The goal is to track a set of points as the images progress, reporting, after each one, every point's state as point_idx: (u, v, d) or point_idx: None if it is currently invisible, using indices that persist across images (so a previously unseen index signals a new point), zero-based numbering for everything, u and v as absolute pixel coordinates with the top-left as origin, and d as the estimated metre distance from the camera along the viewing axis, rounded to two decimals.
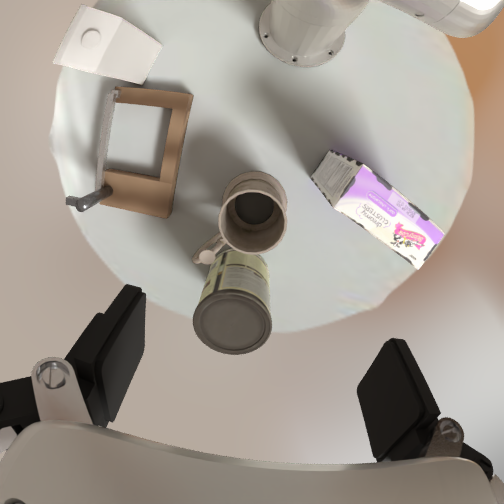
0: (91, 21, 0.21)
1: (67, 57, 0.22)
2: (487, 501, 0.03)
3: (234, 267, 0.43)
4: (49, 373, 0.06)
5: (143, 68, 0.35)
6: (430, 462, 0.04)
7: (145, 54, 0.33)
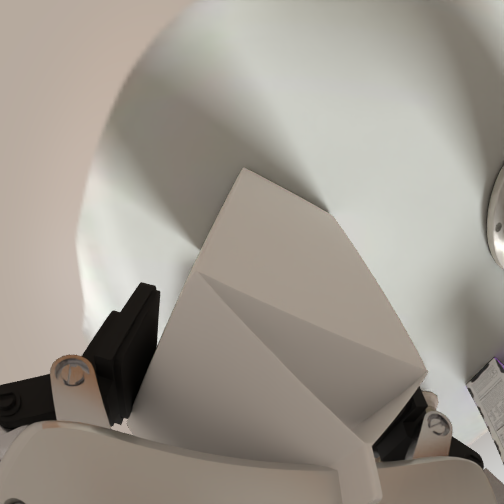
0: None
1: None
2: (487, 501, 0.03)
3: None
4: (68, 370, 0.06)
5: None
6: (430, 462, 0.04)
7: None
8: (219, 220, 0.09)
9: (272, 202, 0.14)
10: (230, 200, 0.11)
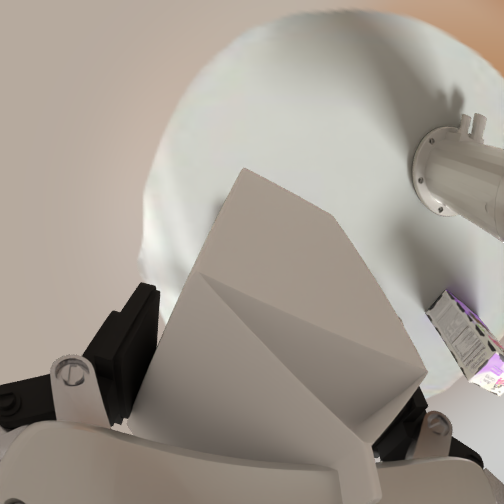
0: None
1: None
2: (487, 501, 0.03)
3: None
4: (69, 370, 0.06)
5: None
6: (430, 462, 0.04)
7: None
8: (219, 220, 0.09)
9: (272, 202, 0.14)
10: (230, 200, 0.11)
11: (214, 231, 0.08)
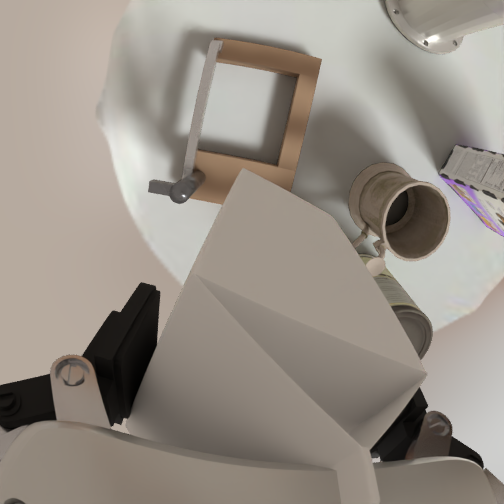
0: None
1: None
2: (487, 501, 0.03)
3: (377, 277, 0.33)
4: (68, 370, 0.06)
5: None
6: (430, 462, 0.04)
7: None
8: (217, 221, 0.09)
9: (271, 203, 0.14)
10: (229, 201, 0.11)
11: (212, 233, 0.08)
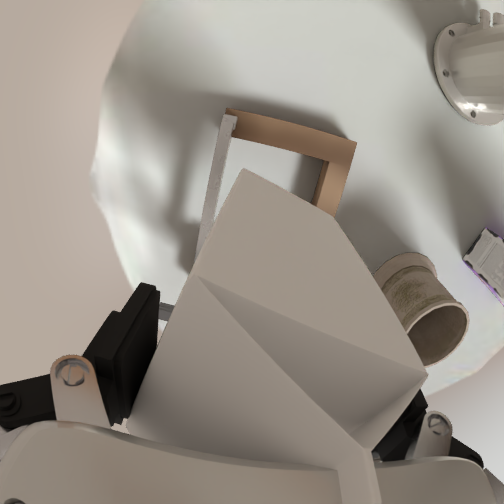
0: None
1: None
2: (487, 501, 0.03)
3: None
4: (69, 370, 0.06)
5: None
6: (430, 462, 0.04)
7: None
8: (218, 222, 0.09)
9: (272, 203, 0.14)
10: (229, 201, 0.11)
11: (213, 233, 0.08)
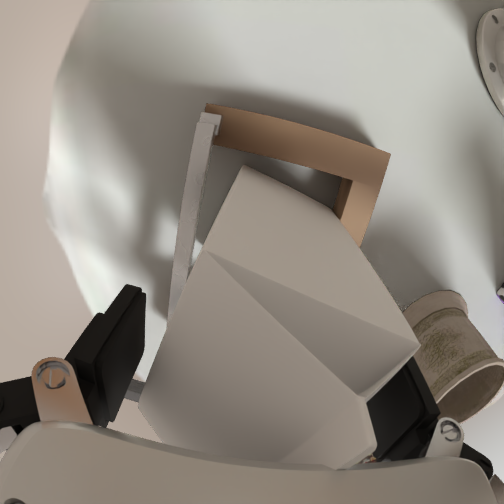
0: None
1: None
2: (487, 501, 0.03)
3: None
4: (49, 373, 0.06)
5: None
6: (430, 462, 0.04)
7: None
8: (222, 209, 0.10)
9: (271, 195, 0.15)
10: (232, 193, 0.12)
11: (218, 218, 0.09)
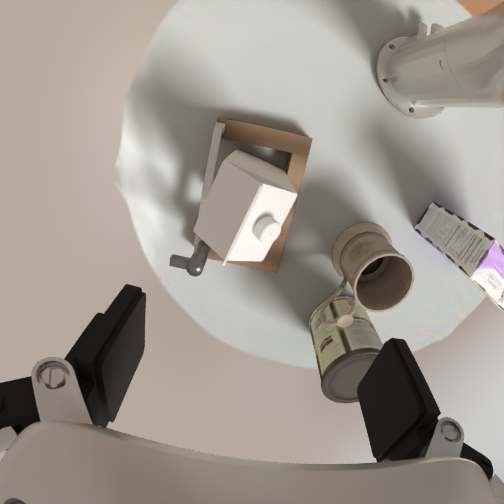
0: (265, 203, 0.24)
1: (236, 251, 0.25)
2: (487, 501, 0.03)
3: None
4: (49, 373, 0.06)
5: None
6: (430, 462, 0.04)
7: None
8: (228, 156, 0.28)
9: (248, 158, 0.33)
10: (231, 154, 0.30)
11: (227, 157, 0.27)
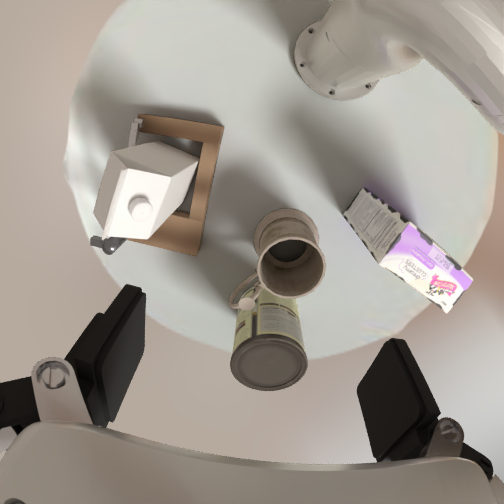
0: (136, 186, 0.26)
1: (116, 228, 0.27)
2: (487, 501, 0.03)
3: (268, 307, 0.43)
4: (49, 373, 0.06)
5: (184, 191, 0.40)
6: (430, 462, 0.04)
7: (187, 181, 0.38)
8: (125, 148, 0.29)
9: (156, 149, 0.35)
10: (134, 146, 0.32)
11: (121, 149, 0.29)
